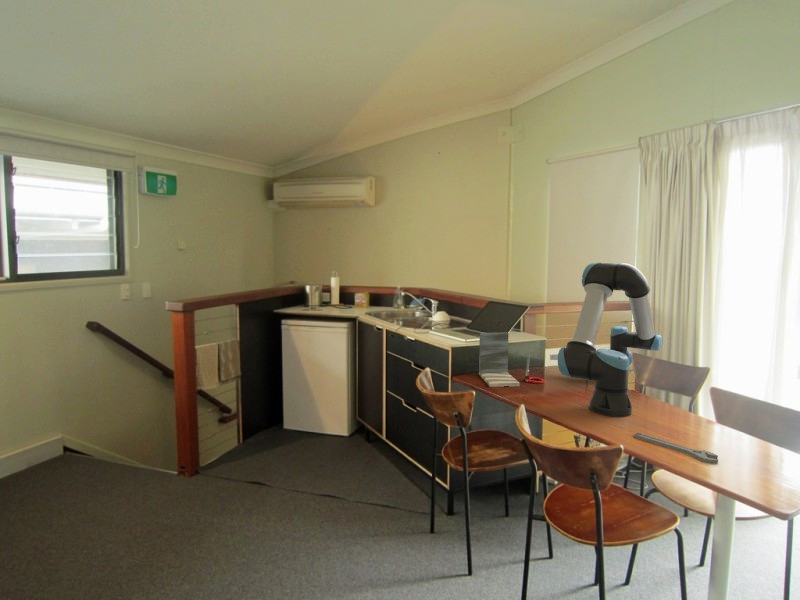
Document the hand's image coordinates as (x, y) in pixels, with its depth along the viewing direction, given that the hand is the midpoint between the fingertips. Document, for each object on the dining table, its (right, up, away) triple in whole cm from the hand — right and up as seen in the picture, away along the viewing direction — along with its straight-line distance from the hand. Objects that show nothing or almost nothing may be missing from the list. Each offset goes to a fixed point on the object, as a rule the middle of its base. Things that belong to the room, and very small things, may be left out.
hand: (555, 360), depth 226 cm
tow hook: (-10, -10, 0) cm, 14 cm away
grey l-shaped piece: (-27, -10, +2) cm, 29 cm away
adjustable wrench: (+12, -18, -77) cm, 80 cm away
